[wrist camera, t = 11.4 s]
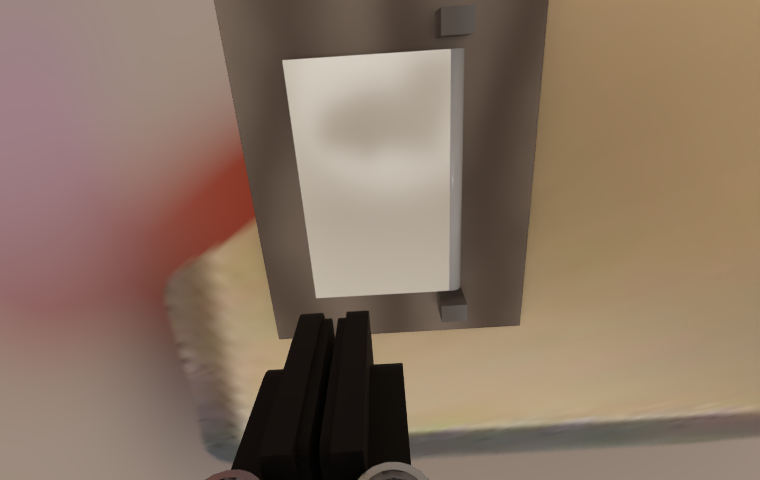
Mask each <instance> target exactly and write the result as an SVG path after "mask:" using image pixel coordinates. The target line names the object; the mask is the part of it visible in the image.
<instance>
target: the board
mask: <svg viewBox="0 0 760 480" xmlns="http://www.w3.org/2000/svg"><path fill="white" fill-rule="evenodd" d="M214 3H215V9H216V14H217V19H218V24H219V30H220V35H221V40H222V45H223V50H224V56H225V60H226V66H227V71H228V76H229V81H230V87H231V92H232V97H233V102H234V107H235V113H236V118H237V123H238V128H239V133H240V139H241V144H242V149H243V154H244V159H245V165H246V170H247V175H248V179H249V185H250V190H251V195H252V200H253V206H254V211H255V216H256V222H257V227H258V232H259V237H260V242H261V247H262V253H263V258H264V263H265V268H266V273H267V279H268V284H269V289H270V294H271V299H272V304H273V310H274V315H275V320H276V325H277V330H278V336H279V339H292V338H293V337H294V333H295V330H296V327H297V323H298V320H299V317H300V315H301V314H312V313H323V314H324V316H325V319H328V318H332V320H333V326H334V334H335V336H336V329H337V322H338V318H346V313H347V312H348V311H366V310H369V316H370V327H371V334H379V333H396V332H414V331H431V330H449V329H466V328H483V327H501V326H518V325H520V316H521V305H522V294H523V282H524V271H525V260H526V248H527V237H528V226H529V215H530V203H531V192H532V181H533V169H534V158H535V147H536V135H537V124H538V113H539V102H540V90H541V79H542V68H543V56H544V45H545V34H546V23H547V11H548V0H214ZM456 48H465V62H464V115H463V168H462V221H461V274H460V288H459V289H457V290H453V291H450V290H449V291H436V292H418V293H400V294H383V295H365V296H347V297H330V298H316V294H315V287H314V280H313V273H312V266H311V259H310V252H309V245H308V238H307V231H306V224H305V217H304V210H303V203H302V196H301V189H300V182H299V175H298V168H297V160H296V153H295V146H294V139H293V132H292V125H291V118H290V111H289V104H288V97H287V90H286V83H285V76H284V69H283V62H282V60H291V59H306V58H321V57H336V56H351V55H366V54H381V53H396V52H411V51H426V50H441V49H456Z"/></svg>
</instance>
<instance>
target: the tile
mask: <svg viewBox="0 0 760 480" xmlns="http://www.w3.org/2000/svg"><path fill="white" fill-rule="evenodd" d="M282 62H283V69H284V76H285V83H286V90H287V97H288V104H289V111H290V118H291V125H292V132H293V139H294V146H295V153H296V160H297V168H298V175H299V182H300V189H301V196H302V203H303V210H304V217H305V224H306V231H307V238H308V245H309V252H310V259H311V266H312V273H313V280H314V287H315V294H316V298H330V297H347V296H365V295H383V294H400V293H418V292H436V291H449V290H450V291H453V290H457V289H459V288H460V274H461V221H462V168H463V115H464V62H465V48H456V49H441V50H426V51H411V52H396V53H381V54H366V55H351V56H336V57H321V58H306V59H291V60H282Z"/></svg>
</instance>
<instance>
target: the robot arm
mask: <svg viewBox="0 0 760 480" xmlns="http://www.w3.org/2000/svg"><path fill="white" fill-rule="evenodd" d="M205 480H429V479H428V478H427V477H426V476H425V475H424V474H423V473H422V472H421V471H420V470H418V469H416V468H415V467H413V466H411V460H410V448H409V436H408V424H407V412H406V400H405V388H404V376H403V364H402V363H395V364H376V365H374V363H373V351H372V339H371V327H370V316H369V310H366V311H348V312H347V313H346V318H338V322H337V329H336V336H335V334H334V326H333V320H332V318H328V319H325V316H324V314H323V313H312V314H301V315H300V317H299V320H298V323H297V327H296V330H295V333H294V337H293V340H292V343H291V347H290V350H289V353H288V357H287V360H286V363H285V367H284V369H281V370H268V371H267V372H266V374H265V376H264V378H263V381H262V384H261V386H260V389H259V392H258V395H257V398H256V401H255V403H254V406H253V409H252V412H251V415H250V417H249V420H248V423H247V426H246V429H245V431H244V434H243V437H242V440H241V443H240V446H239V448H238V451H237V454H236V457H235V460H234V462H233V465H232V468H231V470H226V471H223V472H220V473H217V474H214V475H212V476H210V477H209V478H207V479H205Z"/></svg>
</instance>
